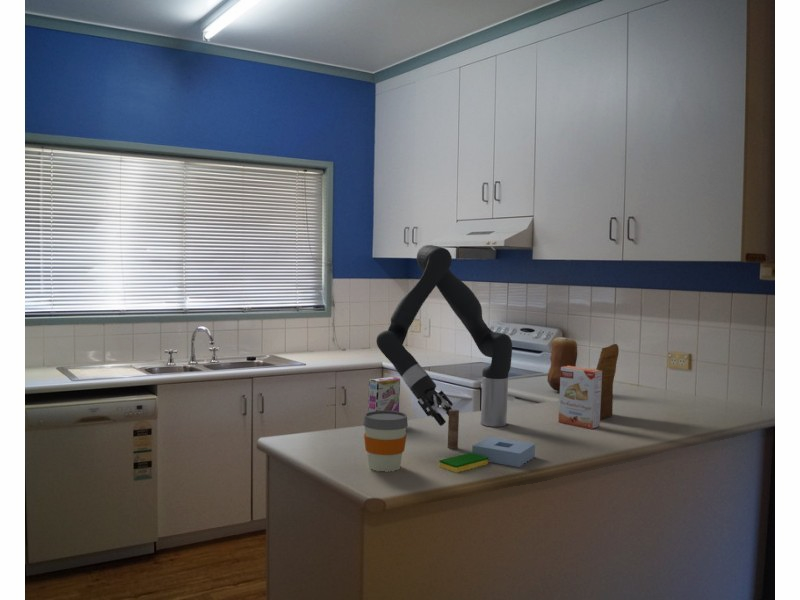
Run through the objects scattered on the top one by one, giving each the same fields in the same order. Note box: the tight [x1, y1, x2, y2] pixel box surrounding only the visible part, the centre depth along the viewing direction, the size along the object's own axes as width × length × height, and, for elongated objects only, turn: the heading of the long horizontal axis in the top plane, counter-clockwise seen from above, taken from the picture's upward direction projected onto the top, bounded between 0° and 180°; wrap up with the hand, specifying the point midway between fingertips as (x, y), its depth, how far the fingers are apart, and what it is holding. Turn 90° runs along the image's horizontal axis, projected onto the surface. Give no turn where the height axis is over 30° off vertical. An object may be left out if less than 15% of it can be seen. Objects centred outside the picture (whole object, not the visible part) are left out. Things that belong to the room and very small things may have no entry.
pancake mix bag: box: [595, 343, 620, 421], centre depth 279 cm, size 7×19×28 cm, turn 138°
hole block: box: [471, 436, 536, 468], centre depth 220 cm, size 13×15×4 cm
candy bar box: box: [367, 376, 401, 413], centre depth 258 cm, size 11×5×16 cm, turn 135°
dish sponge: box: [438, 451, 489, 473], centre depth 211 cm, size 7×14×2 cm, turn 133°
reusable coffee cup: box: [363, 411, 409, 473], centre depth 206 cm, size 13×12×15 cm
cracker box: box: [557, 366, 602, 430], centre depth 265 cm, size 14×6×21 cm, turn 47°
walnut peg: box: [447, 408, 460, 450], centre depth 229 cm, size 3×3×12 cm
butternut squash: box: [546, 336, 578, 393], centre depth 328 cm, size 14×13×25 cm
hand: (449, 421), depth 229 cm, fingers open, 8 cm apart
